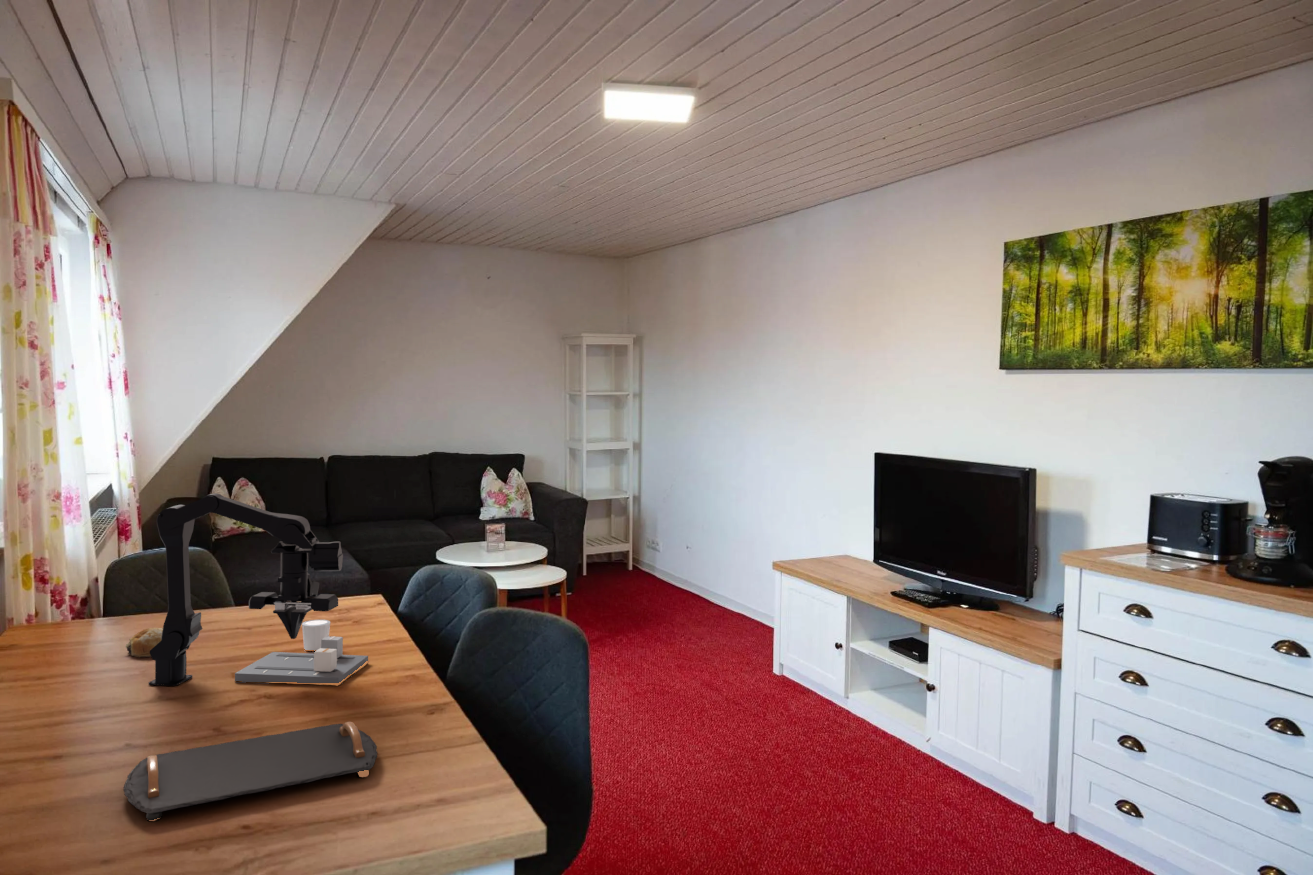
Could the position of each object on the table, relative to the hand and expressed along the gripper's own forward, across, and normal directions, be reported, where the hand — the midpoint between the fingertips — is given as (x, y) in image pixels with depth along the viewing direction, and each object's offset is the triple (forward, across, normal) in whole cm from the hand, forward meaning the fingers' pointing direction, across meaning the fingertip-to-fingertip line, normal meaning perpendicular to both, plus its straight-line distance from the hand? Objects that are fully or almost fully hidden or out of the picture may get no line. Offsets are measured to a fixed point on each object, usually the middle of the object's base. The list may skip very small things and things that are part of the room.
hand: (293, 638), depth 193 cm
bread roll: (+9, +44, -15) cm, 47 cm away
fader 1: (+7, -5, -10) cm, 13 cm away
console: (+9, -1, -4) cm, 10 cm away
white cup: (+9, +5, -23) cm, 25 cm away
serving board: (+10, -18, +50) cm, 54 cm away
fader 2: (+7, -8, 0) cm, 10 cm away
